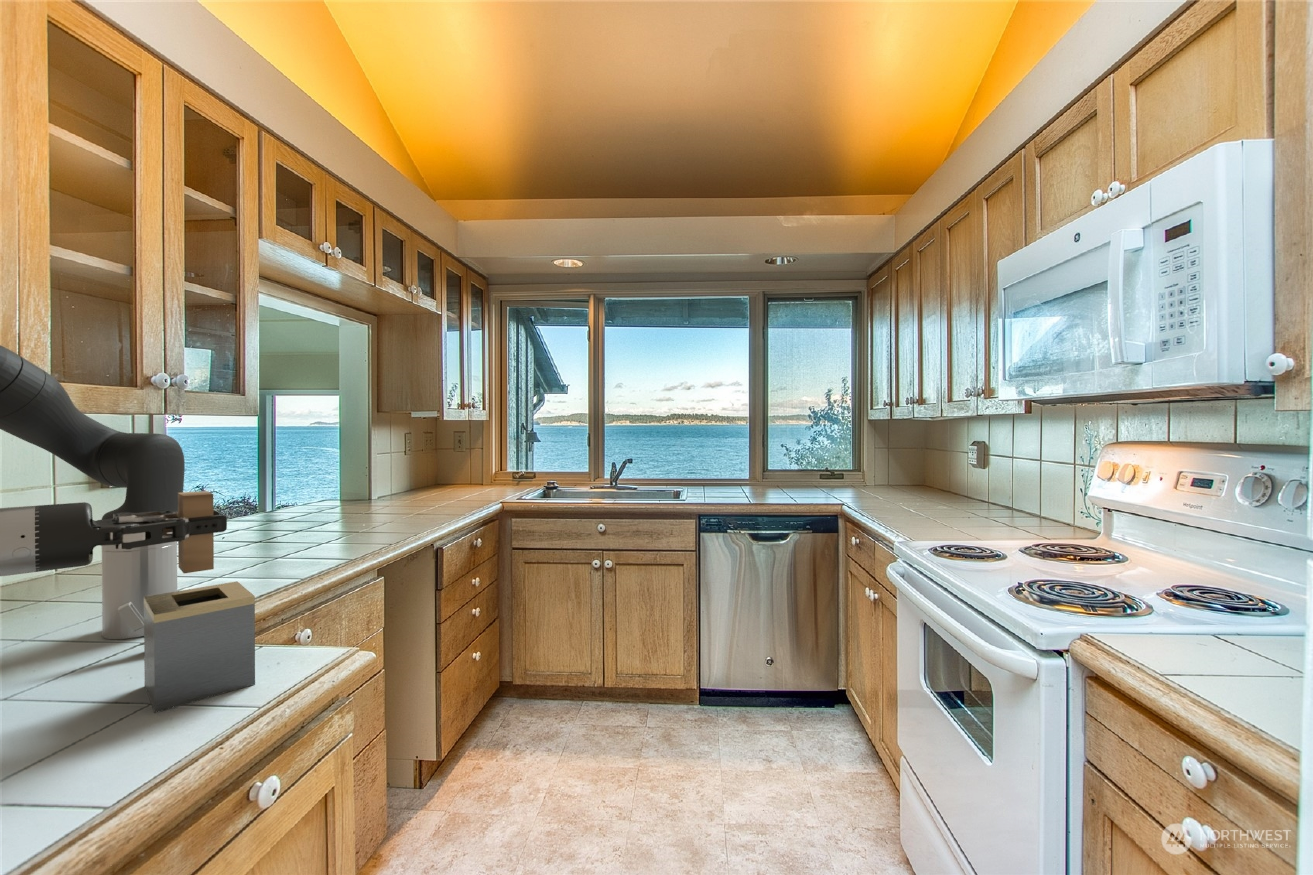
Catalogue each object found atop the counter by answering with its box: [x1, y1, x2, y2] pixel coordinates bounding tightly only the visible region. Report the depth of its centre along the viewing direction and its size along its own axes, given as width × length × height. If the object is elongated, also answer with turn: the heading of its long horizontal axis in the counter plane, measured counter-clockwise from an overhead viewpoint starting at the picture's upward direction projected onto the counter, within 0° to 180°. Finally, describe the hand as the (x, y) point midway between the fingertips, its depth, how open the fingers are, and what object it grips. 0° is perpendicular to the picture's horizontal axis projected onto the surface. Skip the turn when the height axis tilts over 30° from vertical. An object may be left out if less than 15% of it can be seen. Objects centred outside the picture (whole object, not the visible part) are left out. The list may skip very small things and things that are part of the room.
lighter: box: [118, 602, 144, 632], centre depth 83 cm, size 7×2×8 cm, turn 127°
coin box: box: [143, 581, 256, 714], centre depth 73 cm, size 10×10×12 cm
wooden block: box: [177, 490, 215, 574], centre depth 72 cm, size 4×3×10 cm, turn 48°
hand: (221, 520), depth 74 cm, fingers closed on wooden block, 4 cm apart
